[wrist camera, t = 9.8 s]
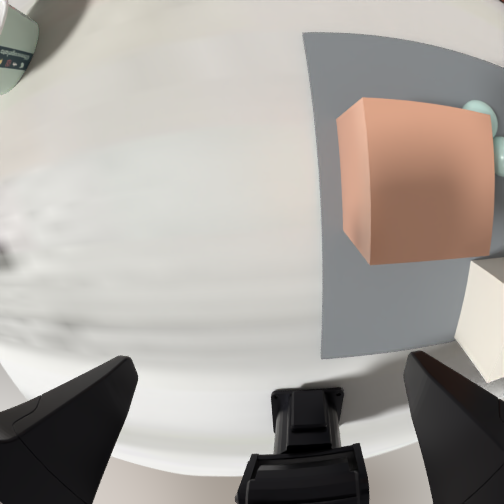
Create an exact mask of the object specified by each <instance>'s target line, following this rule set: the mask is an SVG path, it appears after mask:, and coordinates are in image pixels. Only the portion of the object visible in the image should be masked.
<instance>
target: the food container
mask: <svg viewBox="0 0 504 504" xmlns="http://www.w3.org/2000/svg"><path fill="white" fill-rule="evenodd" d="M38 36H39V27H38V24H37V23H36V22H35V21H34V20H32V19H31V18H29V17H28V16H26V15H25V14H23V13H22V12H20V11H19V10H17V9H16V8H14V7H12V6H11V5H9V4H8V0H0V95H2V94H6V93H7V92H9V91H10V90H11V89H12V88H13V87H14V86H15V85H16V84H17V83H18V81H19V80H20V79H21V77H22V76H23V74H24V72H25V71H26V69H27V67H28V65H29V63H30V61H31V59H32V56H33V54H34V51H35V48H36V45H37V41H38Z"/></svg>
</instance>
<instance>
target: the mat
mask: <svg viewBox="0 0 504 504" xmlns="http://www.w3.org/2000/svg"><path fill="white" fill-rule="evenodd" d="M303 41H304V47H305V53H306V59H307V66H308V73H309V80H310V87H311V95H312V103H313V112H314V121H315V131H316V142H317V154H318V166H319V181H320V198H321V220H322V258H323V303H322V340H321V359H332V358H344V357H355V356H364V355H373V354H381V353H388V352H396V351H402V350H409V349H415V348H421V347H426V346H432V345H437V344H442V343H447V342H452V341H456V339H455V338H454V336H455V333H456V329H457V325H458V321H459V318H460V314H461V309H462V305H463V301H464V296H465V291H466V286H467V281H468V275H469V269H470V263H471V260H482V259H492V258H501V257H504V177H501V176H498V175H496V174H495V193H494V215H493V227H492V237H491V246H490V253H489V256H479V257H468V258H457V259H446V260H434V261H421V262H408V263H395V264H381V265H369V264H368V262H367V261H366V260H365V258H364V257H363V256H362V254H361V253H360V252H359V250H358V249H357V248H356V246H355V245H354V244H353V243H352V241H351V240H350V239H349V237H348V236H347V235H346V234H345V232H344V231H343V210H342V186H341V169H340V155H339V143H338V132H337V123H336V119H337V118H338V117H339V116H341V115H342V114H343V113H344V112H345V111H347V110H348V109H349V108H350V107H351V106H353V105H354V104H355V103H356V102H357V101H359V100H360V99H361V98H362V97H365V98H383V99H396V100H406V101H415V102H423V103H431V104H438V105H444V106H450V107H455V108H461V109H462V108H463V106H464V105H465V104H466V103H467V102H469V101H471V100H480V101H483V102H485V103H486V104H488V105H489V106H490V107H491V108H492V109H493V111H494V113H495V114H496V117H497V121H498V129H497V133H496V135H495V136H494V137H496V136H502V137H504V68H502V67H500V66H497V65H495V64H492V63H490V62H487V61H484V60H481V59H478V58H476V57H472V56H469V55H466V54H463V53H460V52H456V51H453V50H449V49H445V48H441V47H437V46H433V45H429V44H424V43H419V42H414V41H409V40H403V39H397V38H390V37H382V36H374V35H364V34H351V33H325V32H308V33H303ZM494 137H493V138H494Z"/></svg>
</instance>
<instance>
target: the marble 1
mask: <svg viewBox="0 0 504 504" xmlns="http://www.w3.org/2000/svg"><path fill="white" fill-rule="evenodd" d="M462 109H466V110H470V111H475V112H479V113H484V114H488V115H490V117H491V125H492V135H493V137H494V136H495V135H496V133H497V129H498V121H497V117H496V114H495V113H494V111H493V109H492V108H491V107H490V106H489V105H488V104H486V103H485V102H483V101H480V100H471V101H469V102H467V103H466V104H465V105H464V106H463V108H462Z"/></svg>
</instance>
